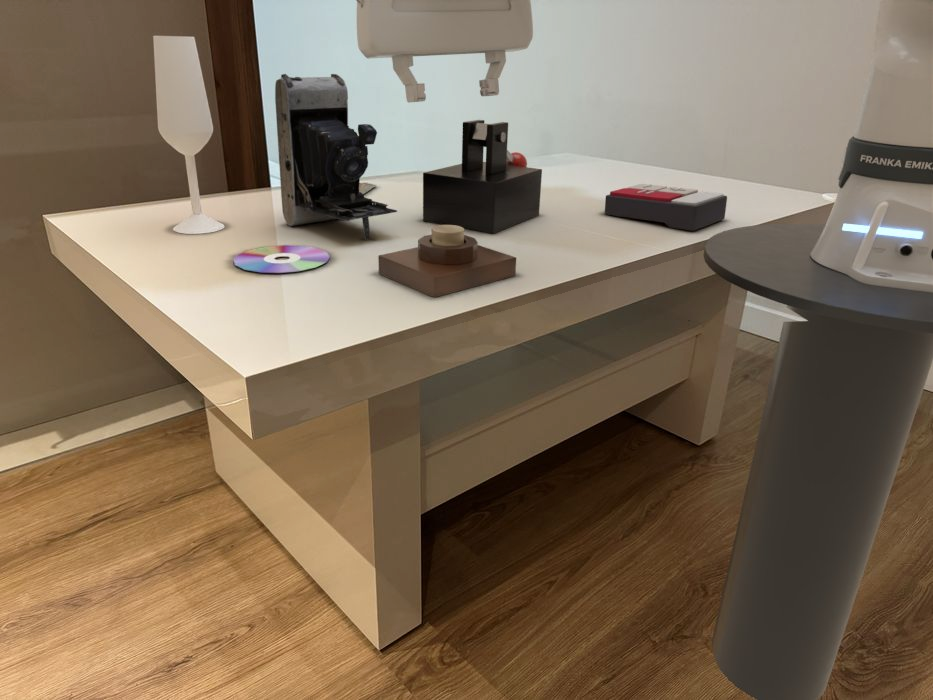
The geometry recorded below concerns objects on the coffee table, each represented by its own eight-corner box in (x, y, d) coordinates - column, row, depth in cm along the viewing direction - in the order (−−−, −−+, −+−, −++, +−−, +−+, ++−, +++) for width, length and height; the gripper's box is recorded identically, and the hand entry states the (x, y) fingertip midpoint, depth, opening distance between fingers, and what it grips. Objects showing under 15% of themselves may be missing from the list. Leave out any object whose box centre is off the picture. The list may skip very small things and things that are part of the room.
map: (379, 188, 127) (379, 182, 126) (338, 206, 108) (338, 200, 107) (353, 186, 127) (352, 181, 127) (307, 204, 109) (307, 198, 108)
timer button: (449, 238, 81) (449, 223, 80) (470, 244, 79) (470, 229, 78) (425, 243, 79) (425, 227, 78) (445, 250, 76) (446, 234, 76)
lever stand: (473, 204, 114) (475, 115, 108) (539, 215, 108) (545, 121, 103) (422, 221, 103) (422, 122, 98) (493, 233, 97) (497, 130, 92)
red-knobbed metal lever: (507, 177, 113) (513, 156, 113) (526, 180, 111) (533, 158, 111) (466, 142, 100) (473, 118, 100) (488, 144, 99) (495, 120, 99)
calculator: (640, 181, 116) (729, 190, 107) (638, 207, 118) (725, 218, 108) (604, 190, 109) (696, 200, 99) (603, 218, 110) (693, 231, 101)
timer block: (458, 255, 87) (458, 224, 86) (515, 275, 81) (517, 241, 79) (378, 274, 80) (377, 239, 78) (434, 297, 73) (434, 260, 72)
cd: (331, 245, 90) (331, 244, 90) (328, 272, 80) (328, 271, 80) (240, 246, 88) (240, 245, 88) (225, 274, 78) (225, 273, 78)
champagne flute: (207, 235, 93) (182, 37, 83) (162, 231, 94) (132, 35, 84) (234, 223, 99) (213, 37, 89) (191, 220, 100) (166, 35, 90)
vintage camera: (340, 251, 89) (338, 84, 81) (279, 223, 99) (271, 72, 91) (400, 240, 96) (404, 84, 87) (337, 214, 106) (335, 72, 97)
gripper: (361, -52, 66) (380, 104, 70) (537, -46, 76) (544, 90, 80) (337, -37, 71) (356, 107, 76) (504, -33, 81) (512, 94, 85)
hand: (454, 98), depth 78 cm, fingers open, 8 cm apart
